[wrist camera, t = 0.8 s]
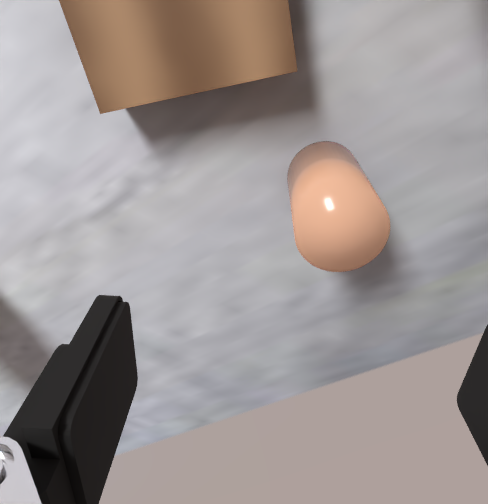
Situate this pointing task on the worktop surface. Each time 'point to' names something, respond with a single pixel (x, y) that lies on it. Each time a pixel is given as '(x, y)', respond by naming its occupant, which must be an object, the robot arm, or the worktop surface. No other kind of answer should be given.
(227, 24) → the walnut plinth
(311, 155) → the glossy peach capsule
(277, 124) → the worktop surface
